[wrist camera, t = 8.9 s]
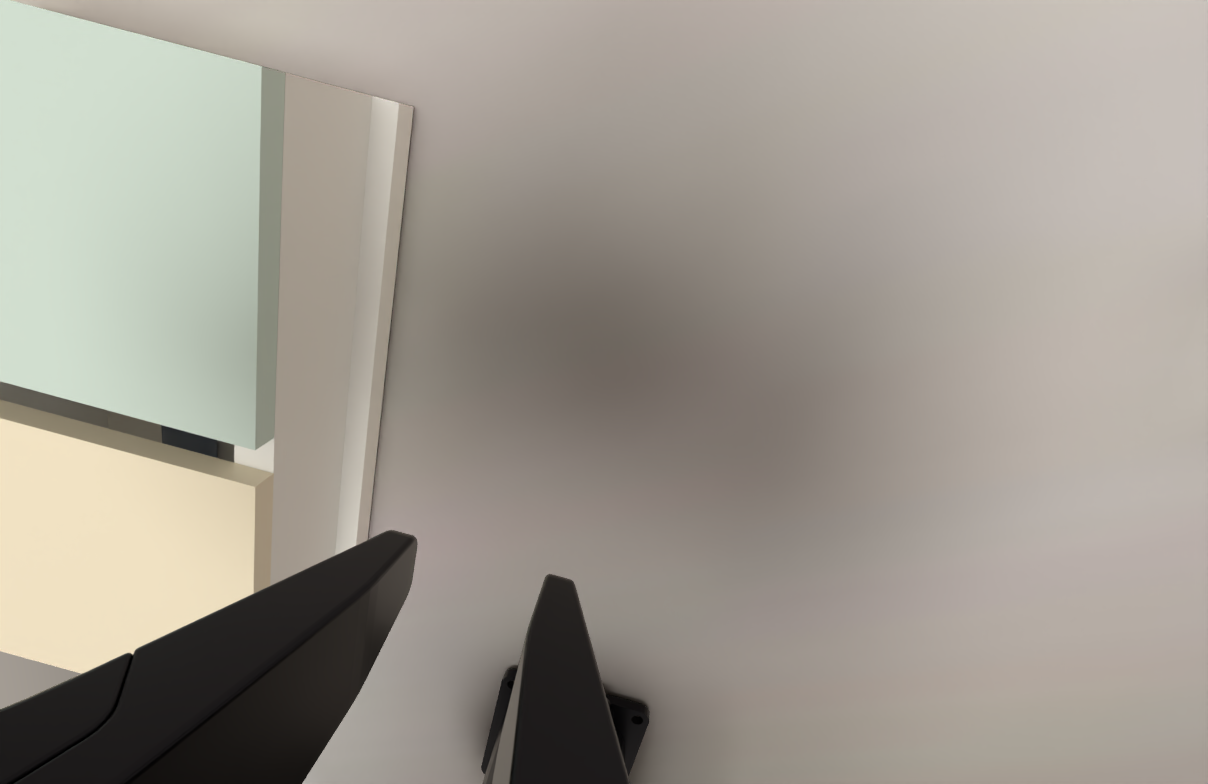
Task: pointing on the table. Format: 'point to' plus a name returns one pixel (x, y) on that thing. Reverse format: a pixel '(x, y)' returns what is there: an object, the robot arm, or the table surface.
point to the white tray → (318, 321)
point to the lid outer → (139, 225)
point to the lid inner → (118, 538)
